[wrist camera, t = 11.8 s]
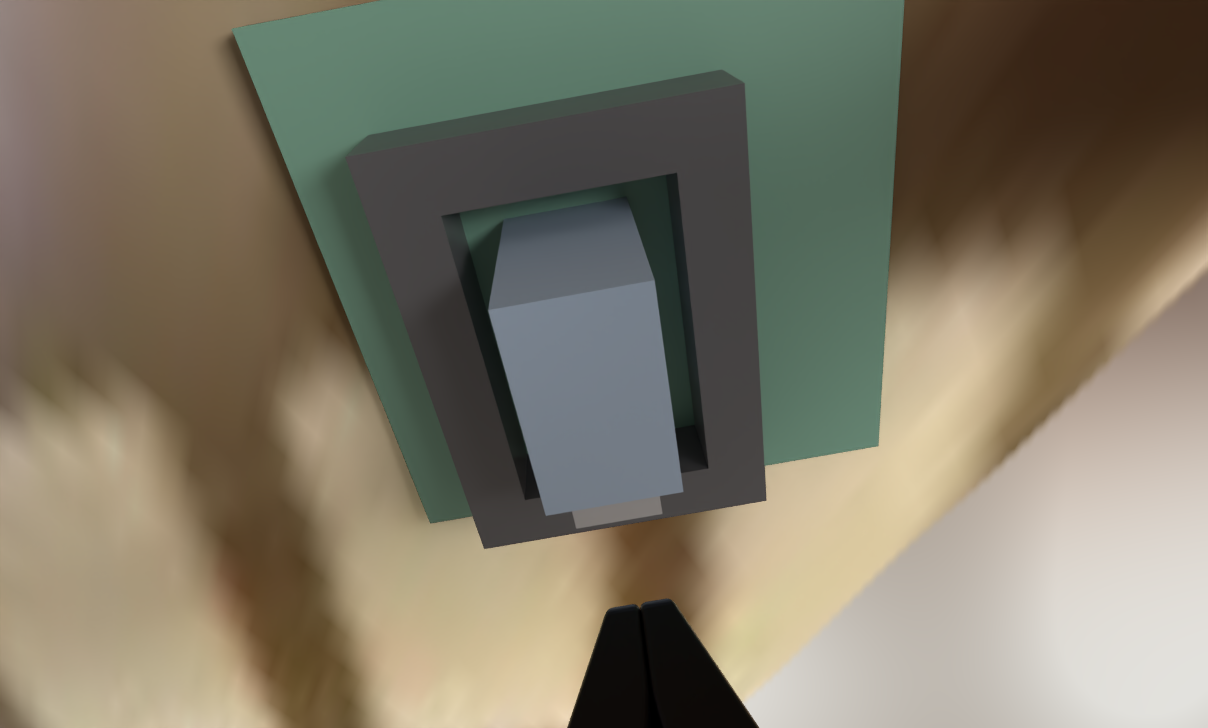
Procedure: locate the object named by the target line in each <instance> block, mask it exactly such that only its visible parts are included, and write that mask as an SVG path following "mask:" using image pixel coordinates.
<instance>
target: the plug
mask: <svg viewBox="0 0 1208 728" xmlns="http://www.w3.org/2000/svg"><path fill="white" fill-rule="evenodd" d="M488 312H489V315H490V319H491V322H492V326H493V330H494V333H495V337H496V340H497V344H498V347H499V351H500V354H501V358H502V362H503V365H504V369H505V372H506V376H507V379H508V383H509V386H510V390H511V394H512V397H513V401H514V404H515V408H516V411H517V415H518V418H519V422H520V426H521V429H522V433H523V436H524V440H525V443H526V447H527V451H528V454H529V458H530V461H531V465H532V468H533V472H534V475H535V479H536V483H537V486H538V490H539V493H540V497H541V500H542V504H543V507H544V511H545V515H546V516H548V515H554V514H559V513H565V512H571V511H572V514H573V517H574V521H575V525H576V529H578V528H584V527H590V526H595V525H601V524H607V523H613V522H618V521H624V520H630V519H636V518H642V517H647V516H653V515H659V514H662V507H661V501H660V496H663V495H669V494H675V493H681V492H683V485H682V478H681V470H680V463H679V456H678V448H677V441H676V433H675V426H674V419H673V411H672V404H671V397H670V389H669V382H668V375H667V367H666V360H665V353H664V345H663V338H662V331H661V323H660V316H659V309H658V301H657V294H656V286H655V280H654V277H653V274H652V271H651V268H650V265H649V262H648V259H647V256H646V253H645V250H644V247H643V244H642V241H641V238H640V235H639V232H638V229H637V226H636V223H635V220H634V217H633V215H632V212H631V209H630V206H629V203H628V200H627V197H622V198H617V199H611V200H606V201H601V202H595V203H590V204H584V205H579V206H573V207H568V208H562V209H557V210H551V211H546V212H540V213H535V214H530V215H524V216H519V217H513V218H508V219H504V221H503V227H502V232H501V238H500V244H499V250H498V256H497V261H496V267H495V273H494V279H493V285H492V290H491V296H490V302H489V308H488Z"/></svg>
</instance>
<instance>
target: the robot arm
mask: <svg viewBox="0 0 1208 728" xmlns="http://www.w3.org/2000/svg"><path fill="white" fill-rule="evenodd" d="M567 728H759V727H758V725H757V724H756V722H755V721H754V719H753V718H752V717H751V715H750V713H749V712H748V710H747V709H746V707H745V706H744V704H743V703H742V701H741V700H740V698H739V697H738V696H737V694H736V693H735V691H734V690H733V688H732V687H731V685H730V684H729V682H728V681H727V679H726V678H725V676H724V675H723V673H722V672H721V670H720V669H719V667H718V666H717V665H716V663H715V662H714V660H713V659H712V657H711V656H710V654H709V653H708V651H707V650H706V648H705V647H704V645H703V644H702V642H701V641H700V639H699V638H698V636H697V635H696V634H695V632H694V631H693V629H692V628H691V626H690V625H689V623H688V622H687V620H686V619H685V617H684V616H683V614H682V613H681V611H680V610H679V608H678V607H677V605H676V604H675V603H674V602H673V601H672V600H671V599H661V600H655V601H649V602H645V603H643V604H642V605H641V607H640V608H639V607H638V606H637V605H634V604H632V605H626V606H620V607H614V608H610V609H609V610H608V611H607V612H606V614H605V616H604V619H603V622H602V625H601V628H600V631H599V634H598V637H597V640H596V643H595V646H594V649H593V652H592V655H591V658H590V661H589V664H588V667H587V670H586V673H585V676H584V679H583V682H582V685H581V688H580V691H579V694H578V697H577V700H576V703H575V706H574V709H573V712H572V715H571V718H570V721H569V724H568V727H567Z"/></svg>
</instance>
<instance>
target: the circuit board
mask: <svg viewBox="0 0 1208 728" xmlns="http://www.w3.org/2000/svg"><path fill="white" fill-rule="evenodd" d="M903 15H904V0H380V1H375V2H369V3H364V4H359V5H354V6H348V7H343V8H338V9H333V10H327V11H322V12H317V13H312V14H306V15H301V16H296V17H290V18H285V19H280V20H275V21H269V22H264V23H259V24H254V25H248V26H243V27H238V28H233V29H232V31H233V34H234V36H235V39H236V41H237V43H238V46H239V48H240V51H241V53H242V56H243V58H244V61H245V63H246V66H247V68H248V71H249V73H250V76H251V78H252V81H253V83H254V86H255V88H256V91H257V93H258V96H259V98H260V101H261V103H262V106H263V108H264V111H265V113H266V116H267V118H268V121H269V123H270V126H271V128H272V131H273V133H274V136H275V138H276V141H277V143H278V146H279V148H280V151H281V153H282V156H283V158H284V161H285V163H286V165H287V168H288V170H289V173H290V175H291V178H292V180H293V183H294V185H295V188H296V190H297V193H298V195H299V198H300V200H301V203H302V205H303V208H304V210H305V213H306V215H307V218H308V220H309V223H310V225H311V228H312V230H313V233H314V235H315V238H316V240H317V243H318V245H319V248H320V250H321V253H322V255H323V258H324V260H325V263H326V265H327V268H328V270H329V273H330V275H331V278H332V280H333V282H334V285H335V287H336V290H337V292H338V295H339V297H340V300H341V302H342V305H343V307H344V310H345V312H346V315H347V317H348V320H349V322H350V325H351V327H352V330H353V332H354V335H355V337H356V340H357V342H358V345H359V347H360V350H361V352H362V355H363V357H364V360H365V362H366V365H367V367H368V370H369V372H370V375H371V377H372V380H373V382H374V385H375V387H376V390H377V392H378V395H379V397H380V399H381V402H382V404H383V407H384V409H385V412H386V414H387V417H388V419H389V422H390V424H391V427H392V429H393V432H394V434H395V437H396V439H397V442H398V444H399V447H400V449H401V452H402V454H403V457H404V459H405V462H406V464H407V467H408V469H409V472H410V474H411V477H412V479H413V482H414V484H415V487H416V489H417V492H418V494H419V497H420V499H421V502H422V504H423V507H424V509H425V512H426V514H427V516H428V519H429V521H430V523H436V522H442V521H448V520H453V519H459V518H465V517H471V516H472V513H471V510H470V507H469V505H468V502H467V499H466V496H465V493H464V490H463V488H462V485H461V482H460V479H459V476H458V474H457V471H456V468H455V465H454V462H453V459H452V457H451V454H450V451H449V448H448V445H447V443H446V440H445V437H444V434H443V431H442V428H441V426H440V423H439V420H438V417H437V414H436V412H435V409H434V406H433V403H432V400H431V398H430V395H429V392H428V389H427V386H426V383H425V381H424V378H423V375H422V372H421V369H420V367H419V364H418V361H417V358H416V355H415V352H414V350H413V347H412V344H411V341H410V338H409V336H408V333H407V330H406V327H405V324H404V321H403V319H402V316H401V313H400V310H399V307H398V305H397V302H396V299H395V296H394V293H393V290H392V288H391V285H390V282H389V279H388V276H387V274H386V271H385V268H384V265H383V262H382V260H381V257H380V254H379V251H378V248H377V245H376V243H375V240H374V237H373V234H372V231H371V229H370V226H369V223H368V220H367V217H366V214H365V212H364V209H363V206H362V203H361V200H360V198H359V195H358V192H357V189H356V186H355V183H354V181H353V178H352V175H351V172H350V169H349V167H348V164H347V161H346V158H345V157H346V156H347V155H348V154H349V153H350V152H351V151H352V150H353V149H354V148H355V147H356V146H357V145H358V144H359V143H360V142H361V141H362V140H363V139H365V138H366V137H367V136H368V135H371V134H377V133H382V132H387V131H393V130H398V129H404V128H409V127H414V126H420V125H425V124H431V123H436V122H441V121H447V120H452V119H458V118H463V117H468V116H474V115H479V114H484V113H490V112H495V111H501V110H506V109H511V108H517V107H522V106H528V105H533V104H538V103H544V102H549V101H554V100H560V99H565V98H571V97H576V96H581V95H587V94H592V93H598V92H603V91H608V90H614V89H619V88H625V87H630V86H635V85H641V84H646V83H651V82H657V81H662V80H668V79H673V78H678V77H684V76H689V75H695V74H700V73H705V72H711V71H716V70H724V71H726V72H727V73H729V74H731V75H732V76H734V77H736V78H737V79H739V80H741V81H742V82H744V83H745V98H746V117H747V136H748V156H749V175H750V194H751V214H752V233H753V252H754V272H755V291H756V310H757V330H758V349H759V368H760V387H761V407H762V426H763V445H764V465H765V466H766V465H772V464H778V463H783V462H789V461H795V460H801V459H807V458H812V457H818V456H824V455H830V454H835V453H841V452H847V451H853V450H859V449H864V448H870V447H876V446H878V443H879V426H880V408H881V391H882V374H883V357H884V340H885V323H886V306H887V289H888V272H889V254H890V237H891V220H892V203H893V186H894V169H895V152H896V135H897V118H898V101H899V83H900V66H901V49H902V32H903ZM622 197H627V200H628V203H629V206H630V209H631V212H632V215H633V217H634V220H635V223H636V226H637V229H638V232H639V235H640V238H641V241H642V244H643V247H644V250H645V253H646V256H647V259H648V262H649V265H650V268H651V271H652V274H653V277H654V280H655V286H656V294H657V301H658V309H659V316H660V323H661V331H662V338H663V345H664V353H665V360H666V367H667V375H668V382H669V389H670V397H671V404H672V411H673V419H674V426H675V428H680V427H685V426H691V425H695V422H694V414H693V405H692V396H691V388H690V379H689V370H688V362H687V353H686V344H685V336H684V327H683V318H682V310H681V301H680V292H679V284H678V275H677V266H676V258H675V249H674V241H673V232H672V223H671V215H670V206H669V197H668V189H667V180H666V175H662V176H657V177H651V178H646V179H640V180H635V181H629V182H624V183H618V184H613V185H607V186H602V187H596V188H591V189H585V190H580V191H574V192H569V193H563V194H558V195H552V196H547V197H541V198H536V199H531V200H525V201H520V202H514V203H509V204H503V205H498V206H492V207H487V208H481V209H476V210H470V211H465V212H459V214H460V218H461V221H462V225H463V228H464V232H465V235H466V239H467V243H468V246H469V250H470V253H471V257H472V260H473V264H474V267H475V271H476V275H477V278H478V282H479V285H480V289H481V292H482V296H483V299H484V303H485V307H486V310H487V314H488V317H489V321H490V324H491V328H492V331H493V335H494V339H495V342H496V346H497V349H498V353H499V356H500V360H501V363H502V367H503V371H504V374H505V378H506V381H507V385H508V388H509V392H510V395H511V399H512V403H513V406H514V410H515V413H516V417H517V420H518V424H519V427H520V431H521V435H522V438H523V442H524V445H525V449H526V452H527V454H528V451H527V447H526V443H525V440H524V436H523V433H522V429H521V426H520V422H519V418H518V415H517V411H516V408H515V404H514V401H513V397H512V394H511V390H510V386H509V383H508V379H507V376H506V372H505V369H504V365H503V362H502V358H501V354H500V351H499V347H498V344H497V340H496V337H495V333H494V330H493V326H492V322H491V319H490V315H489V312H488V308H489V302H490V296H491V290H492V285H493V279H494V273H495V267H496V261H497V256H498V250H499V244H500V238H501V232H502V227H503V221H504V219H508V218H513V217H519V216H524V215H530V214H535V213H540V212H546V211H551V210H557V209H562V208H568V207H573V206H579V205H584V204H590V203H595V202H601V201H606V200H611V199H617V198H622Z"/></svg>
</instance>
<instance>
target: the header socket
mask: <svg viewBox="0 0 1208 728" xmlns="http://www.w3.org/2000/svg"><path fill="white" fill-rule="evenodd" d="M345 158H346V161H347V164H348V167H349V169H350V172H351V175H352V178H353V181H354V183H355V186H356V189H357V192H358V195H359V198H360V200H361V203H362V206H363V209H364V212H365V214H366V217H367V220H368V223H369V226H370V229H371V231H372V234H373V237H374V240H375V243H376V245H377V248H378V251H379V254H380V257H381V260H382V262H383V265H384V268H385V271H386V274H387V276H388V279H389V282H390V285H391V288H392V290H393V293H394V296H395V299H396V302H397V305H398V307H399V310H400V313H401V316H402V319H403V321H404V324H405V327H406V330H407V333H408V336H409V338H410V341H411V344H412V347H413V350H414V352H415V355H416V358H417V361H418V364H419V367H420V369H421V372H422V375H423V378H424V381H425V383H426V386H427V389H428V392H429V395H430V398H431V400H432V403H433V406H434V409H435V412H436V414H437V417H438V420H439V423H440V426H441V428H442V431H443V434H444V437H445V440H446V443H447V445H448V448H449V451H450V454H451V457H452V459H453V462H454V465H455V468H456V471H457V474H458V476H459V479H460V482H461V485H462V488H463V490H464V493H465V496H466V499H467V502H468V505H469V507H470V510H471V513H472V516H473V519H474V521H475V524H476V527H477V530H478V533H479V535H480V538H481V541H482V544H483V547H484V549H487V548H493V547H499V546H505V545H510V544H516V543H522V542H528V541H534V540H540V539H545V538H551V537H557V536H563V535H569V534H575V533H580V532H586V531H592V530H598V529H604V528H610V527H615V526H621V525H627V524H633V523H639V522H644V521H650V520H656V519H662V518H668V517H674V516H679V515H685V514H691V513H697V512H703V511H709V510H714V509H720V508H726V507H732V506H738V505H743V504H749V503H755V502H761V501H766V484H765V465H764V445H763V426H762V407H761V387H760V368H759V349H758V330H757V310H756V291H755V272H754V252H753V233H752V214H751V194H750V175H749V156H748V136H747V117H746V98H745V83H744V82H742V81H741V80H739V79H737V78H736V77H734V76H732V75H731V74H729V73H727V72H726V71H724V70H716V71H711V72H705V73H700V74H695V75H689V76H684V77H678V78H673V79H668V80H662V81H657V82H651V83H646V84H641V85H635V86H630V87H625V88H619V89H614V90H608V91H603V92H598V93H592V94H587V95H581V96H576V97H571V98H565V99H560V100H554V101H549V102H544V103H538V104H533V105H528V106H522V107H517V108H511V109H506V110H501V111H495V112H490V113H484V114H479V115H474V116H468V117H463V118H458V119H452V120H447V121H441V122H436V123H431V124H425V125H420V126H414V127H409V128H404V129H398V130H393V131H387V132H382V133H377V134H371V135H368V136H367V137H366V138H365V139H363V140H362V141H361V142H360V143H359V144H358V145H357V146H356V147H355V148H354V149H353V150H352V151H351V152H350V153H349V154H348V155H347V156H346V157H345ZM662 175H666V180H667V189H668V197H669V206H670V215H671V223H672V232H673V241H674V249H675V258H676V266H677V275H678V284H679V292H680V301H681V310H682V318H683V327H684V336H685V344H686V353H687V362H688V370H689V379H690V388H691V396H692V405H693V414H694V422H695V425H691V426H685V427H680V428H675V433H676V441H677V448H678V456H679V463H680V470H681V478H682V485H683V492H681V493H675V494H669V495H663V496H660V501H661V507H662V514H659V515H653V516H647V517H642V518H636V519H630V520H624V521H618V522H613V523H607V524H601V525H595V526H590V527H584V528H578V529H576V525H575V521H574V517H573V514H572V511H571V512H565V513H559V514H554V515H548V516H546V515H545V511H544V507H543V504H542V500H541V497H540V493H539V490H538V486H537V483H536V479H535V475H534V472H533V468H532V465H531V461H530V458H529V454H527V452H526V449H525V445H524V442H523V438H522V435H521V431H520V427H519V424H518V420H517V417H516V413H515V410H514V406H513V403H512V399H511V395H510V392H509V388H508V385H507V381H506V378H505V374H504V371H503V367H502V363H501V360H500V356H499V353H498V349H497V346H496V342H495V339H494V335H493V331H492V328H491V324H490V321H489V317H488V314H487V310H486V307H485V303H484V299H483V296H482V292H481V289H480V285H479V282H478V278H477V275H476V271H475V267H474V264H473V260H472V257H471V253H470V250H469V246H468V243H467V239H466V235H465V232H464V228H463V225H462V221H461V218H460V214H459V212H465V211H470V210H476V209H481V208H487V207H492V206H498V205H503V204H509V203H514V202H520V201H525V200H531V199H536V198H541V197H547V196H552V195H558V194H563V193H569V192H574V191H580V190H585V189H591V188H596V187H602V186H607V185H613V184H618V183H624V182H629V181H635V180H640V179H646V178H651V177H657V176H662Z"/></svg>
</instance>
